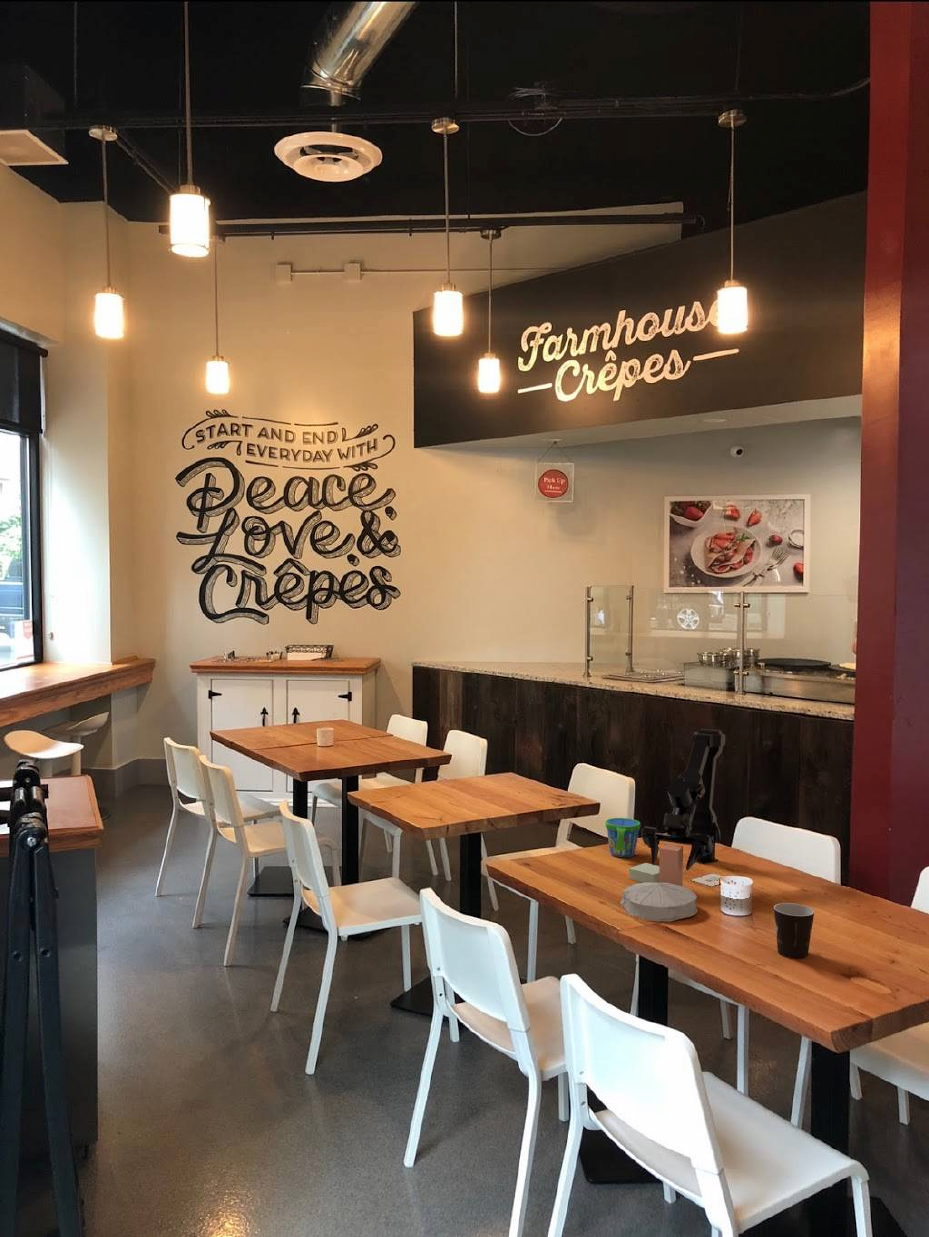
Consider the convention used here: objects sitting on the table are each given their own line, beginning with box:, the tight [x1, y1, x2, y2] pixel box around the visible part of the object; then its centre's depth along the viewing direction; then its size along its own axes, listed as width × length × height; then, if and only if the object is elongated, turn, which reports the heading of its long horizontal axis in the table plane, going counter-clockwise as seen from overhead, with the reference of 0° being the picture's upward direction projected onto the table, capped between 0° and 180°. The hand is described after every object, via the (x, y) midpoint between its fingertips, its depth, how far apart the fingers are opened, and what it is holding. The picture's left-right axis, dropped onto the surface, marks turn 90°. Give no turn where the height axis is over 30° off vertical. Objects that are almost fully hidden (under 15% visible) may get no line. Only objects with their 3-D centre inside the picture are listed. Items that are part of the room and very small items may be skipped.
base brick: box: [628, 862, 659, 883], centre depth 269 cm, size 8×8×3 cm
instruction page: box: [691, 873, 724, 888], centre depth 269 cm, size 10×7×1 cm
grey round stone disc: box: [620, 882, 699, 923], centre depth 245 cm, size 20×20×7 cm
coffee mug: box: [773, 902, 815, 960], centre depth 215 cm, size 12×9×10 cm
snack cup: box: [605, 817, 641, 858], centre depth 294 cm, size 16×10×10 cm
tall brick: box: [658, 843, 684, 887], centre depth 259 cm, size 5×5×12 cm
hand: (669, 867), depth 258 cm, fingers open, 9 cm apart
